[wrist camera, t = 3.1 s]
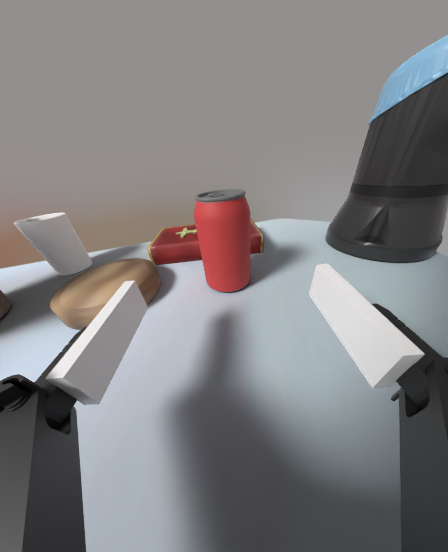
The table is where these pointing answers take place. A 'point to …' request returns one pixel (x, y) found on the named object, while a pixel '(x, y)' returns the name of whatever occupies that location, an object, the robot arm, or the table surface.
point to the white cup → (56, 242)
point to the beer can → (224, 238)
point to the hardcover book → (190, 244)
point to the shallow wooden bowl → (102, 290)
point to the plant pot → (4, 304)
